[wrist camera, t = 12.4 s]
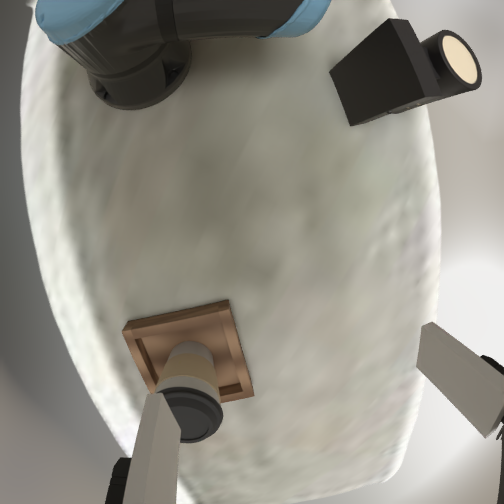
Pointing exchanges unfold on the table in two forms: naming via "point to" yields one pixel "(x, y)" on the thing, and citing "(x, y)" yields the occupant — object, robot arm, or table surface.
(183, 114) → the table surface
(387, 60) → the light fixture
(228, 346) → the tray
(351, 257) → the table surface
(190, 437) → the coffee cup
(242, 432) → the table surface
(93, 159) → the table surface
